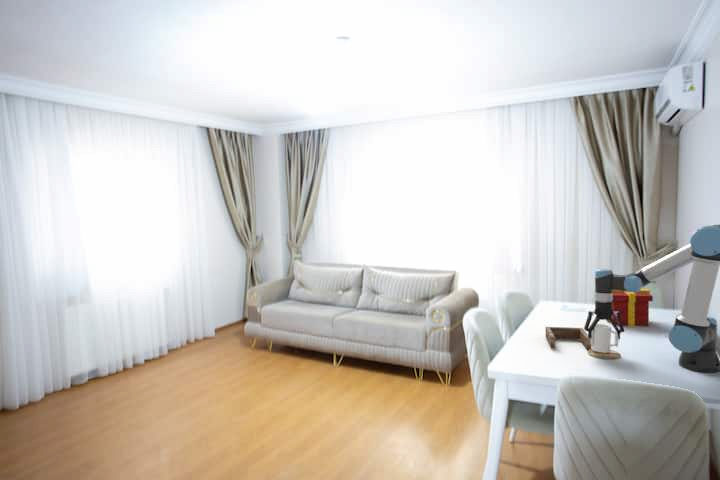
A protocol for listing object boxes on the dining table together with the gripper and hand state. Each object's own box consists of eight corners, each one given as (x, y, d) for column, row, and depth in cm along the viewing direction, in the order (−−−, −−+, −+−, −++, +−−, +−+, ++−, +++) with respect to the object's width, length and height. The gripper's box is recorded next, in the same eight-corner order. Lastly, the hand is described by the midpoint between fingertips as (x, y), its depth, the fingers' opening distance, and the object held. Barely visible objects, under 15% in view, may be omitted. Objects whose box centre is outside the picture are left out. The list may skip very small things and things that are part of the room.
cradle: (591, 350, 225) (591, 338, 225) (550, 348, 231) (550, 337, 230) (582, 338, 245) (582, 327, 245) (545, 337, 250) (545, 326, 250)
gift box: (641, 317, 284) (642, 286, 282) (656, 328, 260) (656, 293, 258) (598, 316, 291) (598, 286, 289) (609, 326, 267) (609, 293, 265)
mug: (620, 351, 216) (621, 327, 215) (614, 355, 211) (615, 331, 210) (595, 346, 225) (596, 322, 224) (588, 349, 220) (589, 326, 219)
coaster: (624, 360, 210) (624, 358, 210) (591, 358, 214) (591, 356, 214) (615, 350, 223) (615, 349, 223) (585, 349, 227) (585, 347, 227)
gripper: (627, 299, 217) (627, 343, 219) (577, 298, 223) (577, 341, 225) (632, 302, 210) (632, 348, 211) (580, 301, 216) (580, 346, 218)
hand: (604, 345), depth 218 cm, fingers closed on mug, 10 cm apart
